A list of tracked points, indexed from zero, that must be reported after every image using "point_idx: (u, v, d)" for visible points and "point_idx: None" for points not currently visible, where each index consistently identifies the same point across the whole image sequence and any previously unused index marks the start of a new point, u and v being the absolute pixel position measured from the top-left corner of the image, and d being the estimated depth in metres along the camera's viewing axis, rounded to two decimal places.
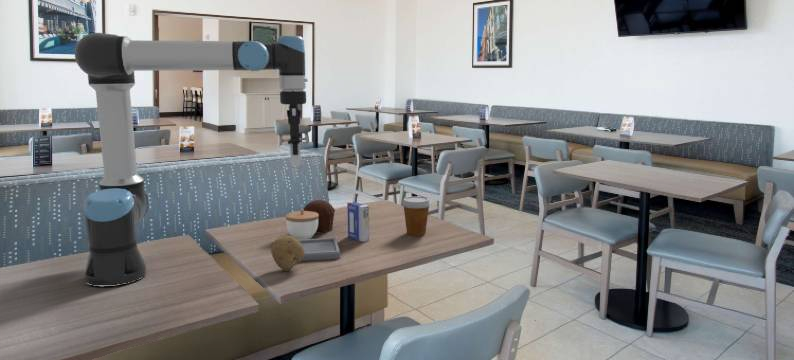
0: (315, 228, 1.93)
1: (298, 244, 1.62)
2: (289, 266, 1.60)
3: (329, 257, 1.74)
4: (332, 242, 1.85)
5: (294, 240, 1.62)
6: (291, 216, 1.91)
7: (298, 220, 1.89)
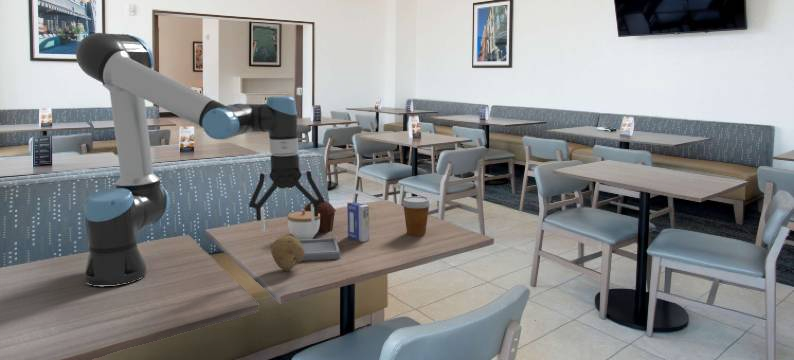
0: (317, 228, 1.93)
1: (298, 244, 1.62)
2: (289, 266, 1.60)
3: (329, 257, 1.74)
4: (332, 242, 1.85)
5: (294, 240, 1.62)
6: (293, 216, 1.91)
7: (301, 221, 1.89)
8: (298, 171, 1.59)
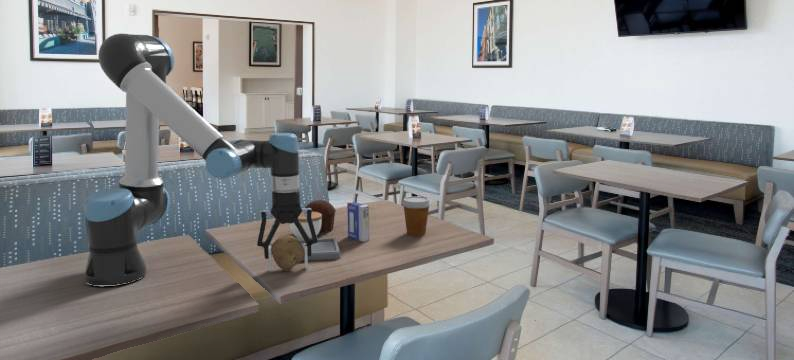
0: (319, 228, 1.93)
1: (298, 244, 1.62)
2: (289, 266, 1.60)
3: (329, 257, 1.74)
4: (332, 242, 1.85)
5: (294, 240, 1.62)
6: None
7: (303, 221, 1.89)
8: (300, 207, 1.61)
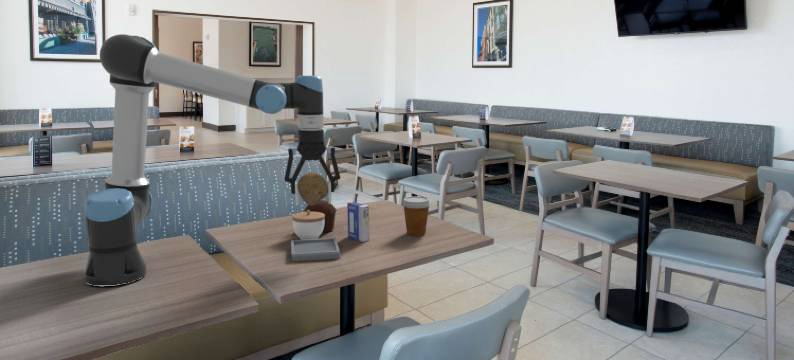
0: (322, 228, 1.93)
1: (322, 180, 1.74)
2: (314, 200, 1.72)
3: (329, 257, 1.74)
4: (332, 242, 1.85)
5: (319, 176, 1.74)
6: (299, 217, 1.90)
7: (308, 221, 1.88)
8: (324, 145, 1.73)
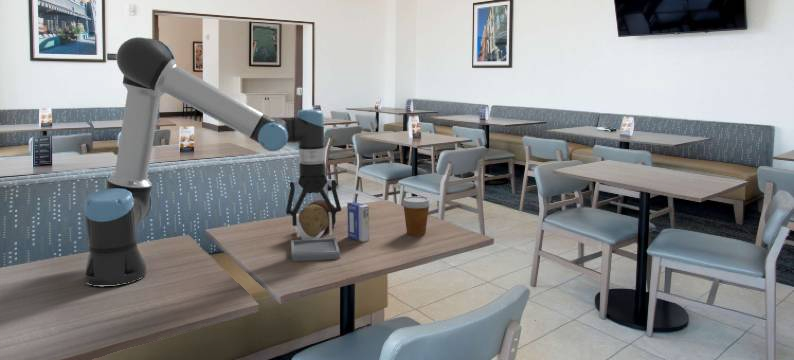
0: None
1: (324, 212, 1.76)
2: (316, 232, 1.74)
3: (329, 257, 1.74)
4: (332, 242, 1.85)
5: (320, 209, 1.76)
6: None
7: None
8: (325, 178, 1.75)
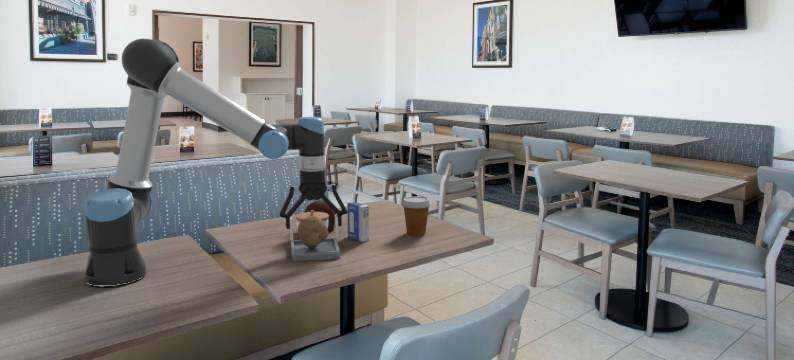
0: (327, 228, 1.93)
1: (322, 224, 1.77)
2: (314, 244, 1.75)
3: (329, 257, 1.74)
4: (332, 242, 1.85)
5: (319, 220, 1.77)
6: (304, 217, 1.90)
7: None
8: (324, 185, 1.76)
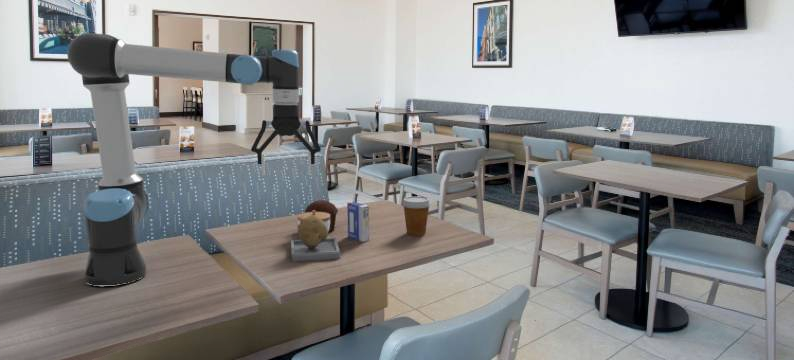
0: None
1: (322, 224, 1.77)
2: (314, 244, 1.75)
3: (329, 257, 1.74)
4: (332, 242, 1.85)
5: (319, 220, 1.77)
6: (306, 217, 1.90)
7: None
8: (298, 120, 1.73)
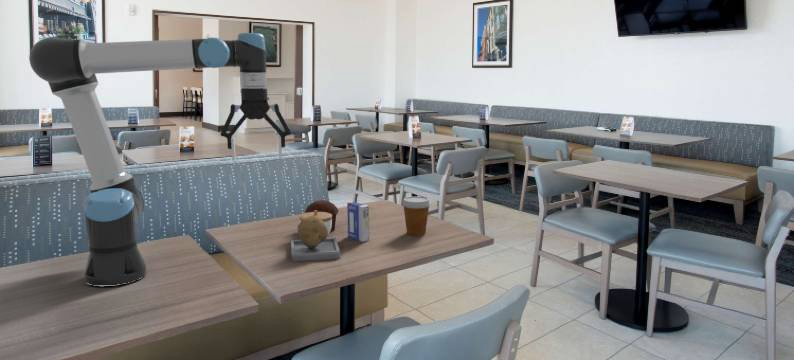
0: None
1: (322, 224, 1.77)
2: (314, 244, 1.75)
3: (329, 257, 1.74)
4: (332, 242, 1.85)
5: (319, 220, 1.77)
6: None
7: None
8: (266, 104, 1.73)
